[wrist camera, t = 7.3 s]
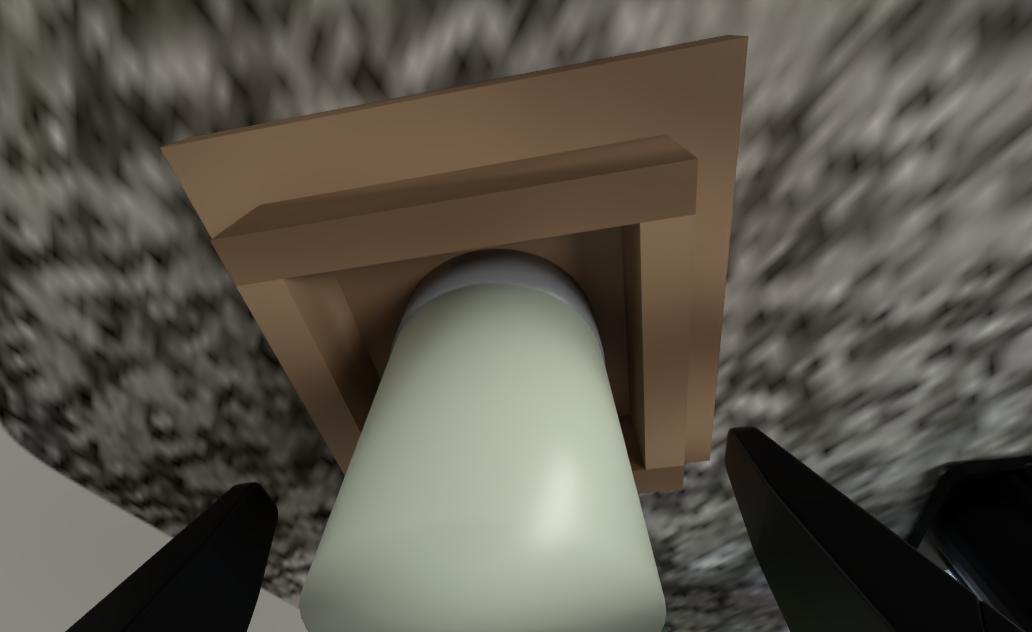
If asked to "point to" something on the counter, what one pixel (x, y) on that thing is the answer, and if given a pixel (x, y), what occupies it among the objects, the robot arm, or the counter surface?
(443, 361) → the white rounded cylinder
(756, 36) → the counter surface
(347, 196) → the holder
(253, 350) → the counter surface
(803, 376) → the counter surface
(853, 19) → the counter surface
